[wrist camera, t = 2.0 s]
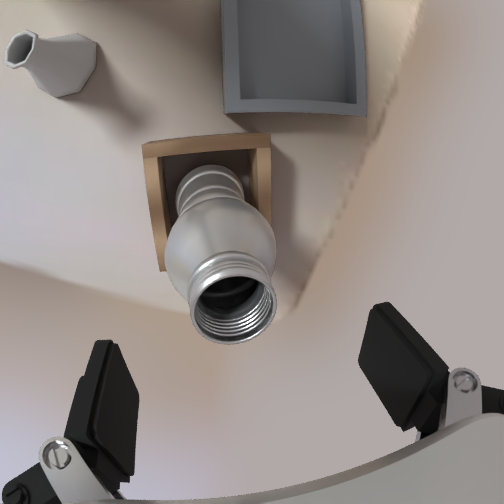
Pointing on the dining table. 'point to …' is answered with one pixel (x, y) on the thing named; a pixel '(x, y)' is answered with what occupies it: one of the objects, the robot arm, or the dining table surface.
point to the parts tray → (293, 57)
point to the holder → (156, 150)
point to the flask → (53, 60)
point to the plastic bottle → (221, 257)
